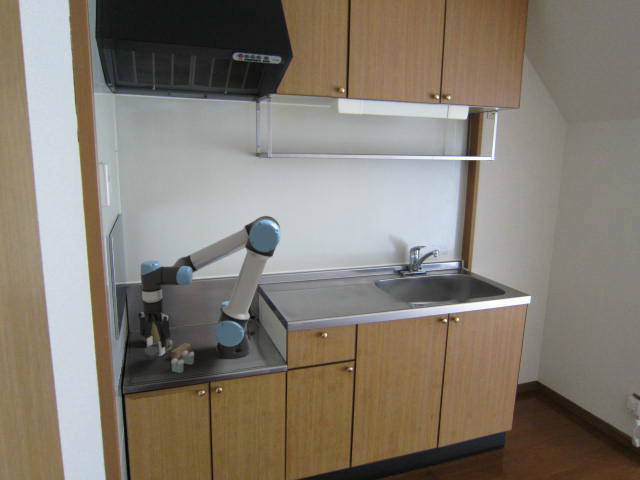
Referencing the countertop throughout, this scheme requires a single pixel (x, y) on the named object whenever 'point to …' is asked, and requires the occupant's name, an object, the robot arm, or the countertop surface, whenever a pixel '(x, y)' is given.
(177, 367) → the cradle
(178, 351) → the wooden bars with cylinder
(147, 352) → the dark grey rounded block
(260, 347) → the countertop surface
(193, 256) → the robot arm
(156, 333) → the squeeze bottle
